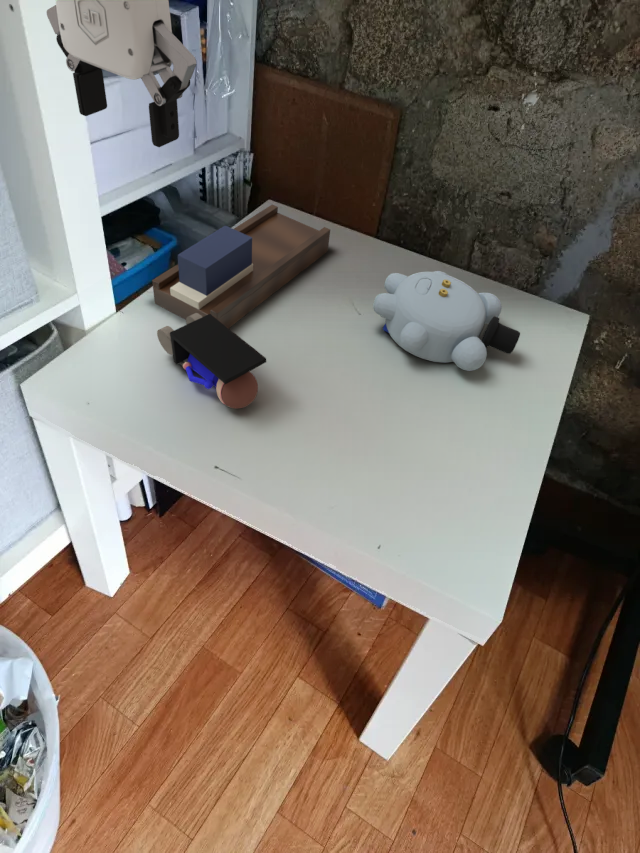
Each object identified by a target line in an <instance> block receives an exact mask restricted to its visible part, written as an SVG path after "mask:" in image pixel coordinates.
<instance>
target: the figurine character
mask: <svg viewBox="0 0 640 853" xmlns="http://www.w3.org/2000/svg"><path fill="white" fill-rule="evenodd" d="M185 323H186V324H185V325H182V326H180V327H179V328H177V329H173V328H172V327H171V326H170V325H166V326H163V327H161V328H159V329H158V330H157V332H156V335H157V338H158V339H157V340H158V342H159V343H160V346H161V347H162V349H163V350H164V351H165V353H167V354H168V355H170V356H172V360H173V363H174V364H175V365H178V364H179V365H181V366H182V368H183V369H184V370H185V371H186V374H187V378H188V381H189V382H190V383H191V382H192V383H196V384H198V385H202V386H204V388H205V389H206V390H211V389H212V388H213V387H215V388H216V389H215V390H216V395H217V397H218V399H219V401H220V402H221V403H222V404H223V405H224V406H226V407H227V408H228V407H229V408H231V409H238V410H239V409H243V408H246V407H248V406H249V405H251V404H252V403H253V402H254V401H255V399H256V397H257V395H258V391H259V384H258V380H257V378H256V377H255V375H254V374H253V373H252V372H251V371H253V370H254V369H256V368H258V367H260V366H262V365H264V364H265V363H267V357H266V356H264V355H263V354H261V353H260V352H259V351H258V350H257V349H255V348H254V347H253V346H251V345H250V344H249V343H248V342H247V341H245V340H244V339H243V338H241V337H240V336H239V335H237V333H235V332H234V331H232V329H230V328H227V327H226V326H225V325H224V324H222V323H221V322H220V321H219V320H217V319H216V318H215V317H214V316H212V315H211V314H208V315H206V316H204V317H202V316H201V315H200V314H198V313H195V314H193V315H190V316H188V317H187V318H186V320H185ZM186 360H187V361H186ZM193 371H194V372H195V373H197V374H198V375H199V376H200V377H199V376H195V375H194V372H193Z"/></svg>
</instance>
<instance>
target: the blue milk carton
mask: <svg viewBox="0 0 640 853" xmlns="http://www.w3.org/2000/svg"><path fill="white" fill-rule="evenodd" d="M177 264H178V268H179V281H180V282H178V283H177V284H175V285H174V286H172V287H171V288H170V293H171V295H172V296H174V297H175V298H177V299H179V300H181V301H183V302H185V303H187V304H189V305H191V306H193V307H195V308H197V309H201V308H202V307H203V306H205V305H206V304H207V303H209V302H210V301H212V300H213V299H214V298H216V297H217V296H219V295H220V294H221V293H223V292H224V291H226V290H227V289H228V288H230V287H231V286H233V285H234V284H235V283H237V282H238V281H240V280H241V279H242V278H244V277H245V276H246V275H248V274H249V273H251V272H252V271H253V264H252V237H250V236H248V235H245V234H243V233H241V232H239V231H237V230H234V228H233V227H230V226H227V224H226V225H223V226H222V227H220V228H218V229H217V230H215V231H214V232H212V233H211V234H208V235H207V236H205V237H204V238H202V239H201V240H199V241H198V242H196V243H194V244H193V245H191V246H189V247H187V248H186V249H185V250H183V251H182V252H180V253H179V254H177Z"/></svg>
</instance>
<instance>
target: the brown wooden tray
mask: <svg viewBox="0 0 640 853" xmlns="http://www.w3.org/2000/svg"><path fill="white" fill-rule="evenodd" d="M278 209H279V207H278V206H277V205H275V204H271V205H269V206H267V207H266V208H264V209H263V210H261V211H259V212H257V213H256V214H254V215H253V216H252V217H250V218H248V219H247V220H245V221H243V222H242V223H240V224H239V225H237V226H236V227H234V228H233V229H234V230H237V231H239V232H241V233H243V234H245V235H248V236H250V237H252V264H253V271H252V272H251V273H249V274H248V275H246V276H245V277H244V278H242V279H241V280H240V281H238V282H237V283H235V284H234V285H233V286H231V287H230V288H228V289H227V290H226V291H224V292H223V293H221V294H220V295H219V296H217V297H216V298H214V299H213V300H212V301H210V302H209V303H207V304H206V305H205V306H203V307H202V308H201V309H197V308H195V307H193V306H191V305H189V304H187V303H185V302H183V301H181V300H179V299H177V298H175V297H174V296H172V295H171V293H170V288H171V287H172V286H174V285H175V284H177V283H178V282H180V281H179V268H178V263H177V264H176V265H174V266H172V267H171V268H169V269H167V270H166V271H164V272H163V273H161V274H160V275H158V276H156V277H155V278H153V279H152V280H151V282H152V290H153V300H154V304H155V305H156V306H159V307H160V308H162V309H164V310H165V311H168V312H170V313H171V314H174V315H175V316H178V317H179V318H181V319H183V320H185V321H186V318H187V317H188V316H190V315H193V314H195V313H198V314H200V315H201V316H202V317H204V316H206V315H208V314H211V315H212V316H214V317H215V318H216V319H217V320H219V321H220V322H221V323H222V324H224V325H225V326H226V327H227V328H229V329H230V328H231V327H233V326H234V325H235V324H236V323H238V322H239V321H240V320H241V319H243V318H244V317H246V315H248V314H250V312H251V311H253V310H254V309H256V308H257V307H258V306H260V305H261V304H262V303H264V301H266V300H267V299H269V298H270V297H271V296H272V295H273V294H275V293H276V292H277V291H279V290H281V288H283V287H284V286H285V285H286V284H288V283H289V282H290V281H292V280H293V279H294V278H296V277H297V276H299V275H300V273H302V272H303V271H305V270H306V269H307V268H309V267H310V266H311V265H312V264H314V263H315V262H316V261H317V260H318V259H320V258H322V256H324V255H325V254H326V253H328V251H329V245H330V236H331V229H330V228H328V227H325V226H323V227H322V228H321V229H316V228H314V227H312V226H310V225H307V224H305V223H303V222H300V221H299V220H296V219H294V218H292V217H289V216H287V215H284V214H282V213H280V212H279V210H278Z"/></svg>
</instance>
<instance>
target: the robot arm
mask: <svg viewBox="0 0 640 853" xmlns="http://www.w3.org/2000/svg"><path fill="white" fill-rule="evenodd" d="M46 16H47V19H48V22H49V24H50V26H51V27H52V30H53V32H54V34H55V35H56V44H57V45H58V46H59V48H60V50H61V51H62V53H63V54H64V56H65V57H66V59H65V63H66V66H67V68H68V69H69V71H70V72H72V77H73V82H74V86H75V87H74V88H75V94H76V99H77V100H76V101H77V105H78V110H79V114H80V115H81V116H84V117H89V116H91V115H93V114H96V113H98V112H101V111H104V110H106V109H107V108H108V101H107V92H106V87H105V78H104V72H103V70H104V71H106V72H109V73H111V74H114V75H116V76H119V77H122V78H125V79H129V80H140V79H141V81H142V83H143V85H144V86H145V88H146V90H147V92H148V93H149V95H150V97H151V99H152V102H149V103H148V113H149V126H150V134H151V142H152V145H153V146H155V147H157V148H162V147H164V146H166V145H168V144H170V143H173V142H174V141H177V140H178V139H179V138H180V125H179V111H178V99H181V98H182V97H183V94H184V92H186V90H188V89H189V87H190V85H191V79H192V77H193V74H194V71H195V69H196V66H197V60H196V59H197V58H196V57H195V56H194V54H192V52H191V51H190V50H189V49H188V48H187V47H186V46H185V45H184V44H183V43H182V42H181V41H180V40H179V39H178V38H177V36H175V35H174V33H173V30H172V18H171V10H170V3H169V0H55V5H53V6H51V7H50V8H48V9H47V10H46ZM171 67H173V69H172V68H171ZM156 75H158V76H159V77H160V79H161V80H162V82H163V85H162V86H161V85H160V83H159V80H157V77H156Z"/></svg>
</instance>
